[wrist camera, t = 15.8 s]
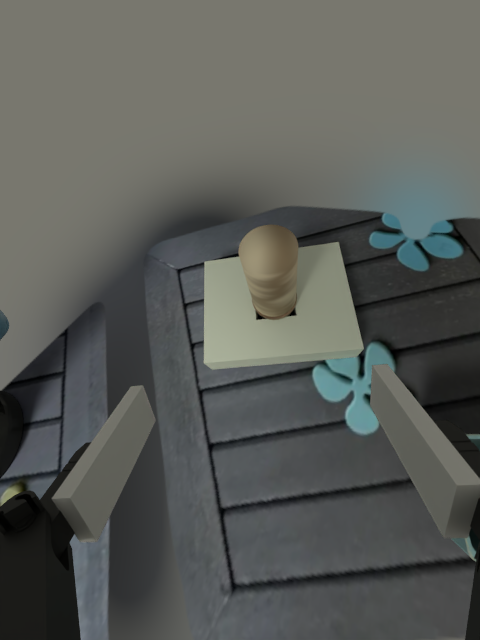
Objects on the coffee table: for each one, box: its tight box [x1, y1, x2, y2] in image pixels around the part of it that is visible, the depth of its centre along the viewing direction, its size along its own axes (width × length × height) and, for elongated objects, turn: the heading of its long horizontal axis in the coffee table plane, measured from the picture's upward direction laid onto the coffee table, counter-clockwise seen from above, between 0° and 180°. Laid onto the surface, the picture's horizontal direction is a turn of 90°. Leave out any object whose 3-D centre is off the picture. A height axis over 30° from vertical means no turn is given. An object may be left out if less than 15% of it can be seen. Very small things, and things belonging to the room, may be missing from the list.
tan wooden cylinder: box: [239, 225, 298, 320], centre depth 32 cm, size 6×6×15 cm
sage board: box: [204, 242, 364, 369], centre depth 38 cm, size 20×16×4 cm
